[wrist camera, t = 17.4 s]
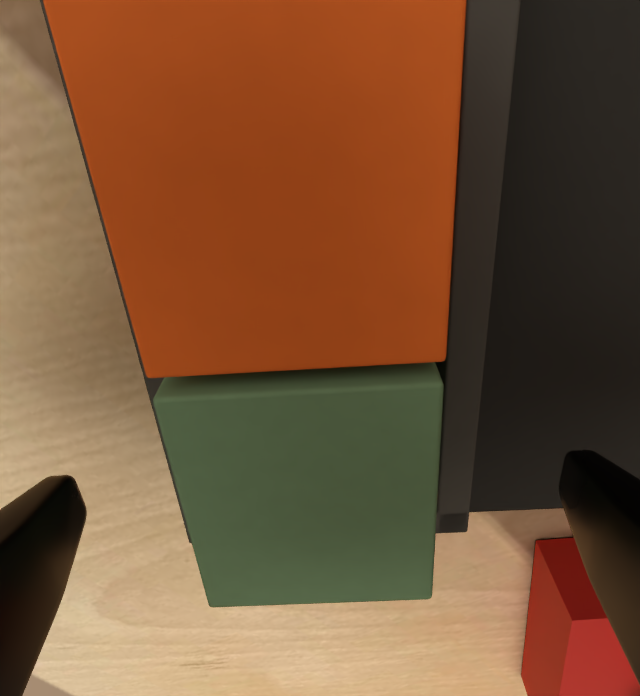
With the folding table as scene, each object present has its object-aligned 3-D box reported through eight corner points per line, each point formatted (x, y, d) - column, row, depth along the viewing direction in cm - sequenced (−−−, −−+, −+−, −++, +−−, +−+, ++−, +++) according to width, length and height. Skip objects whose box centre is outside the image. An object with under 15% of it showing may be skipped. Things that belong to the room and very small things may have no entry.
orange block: (203, 281, 11) (145, 379, 7) (149, 5, 9) (28, -44, 5) (407, 269, 11) (446, 363, 7) (410, -18, 8) (472, -85, 5)
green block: (238, 469, 13) (208, 608, 10) (205, 296, 11) (150, 399, 8) (404, 461, 13) (432, 600, 10) (406, 283, 11) (445, 383, 7)
